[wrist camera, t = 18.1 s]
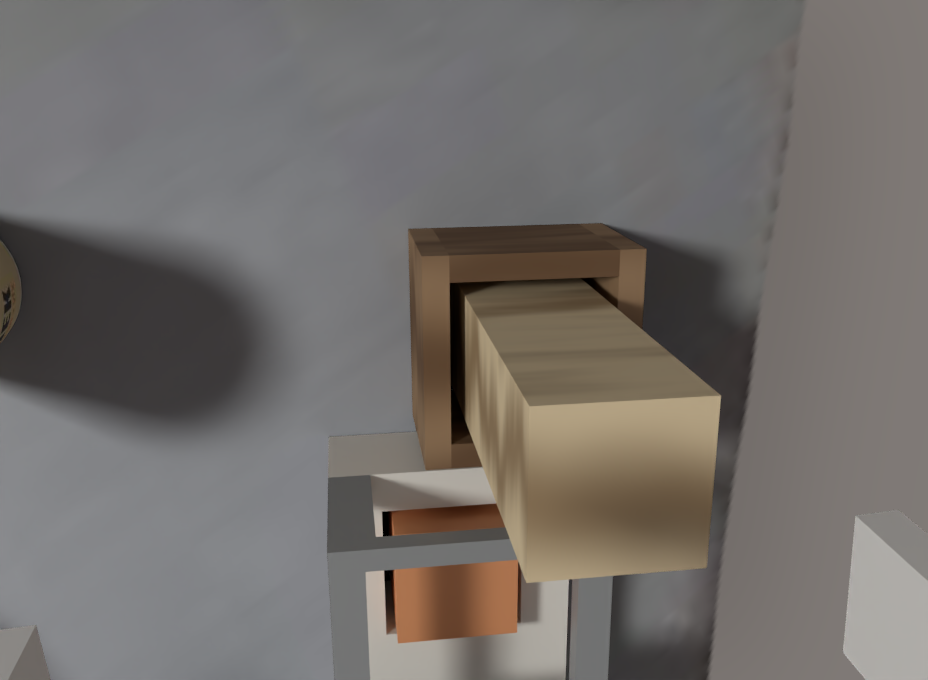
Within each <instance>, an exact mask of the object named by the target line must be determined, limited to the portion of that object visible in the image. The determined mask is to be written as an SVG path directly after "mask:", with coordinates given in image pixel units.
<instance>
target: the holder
mask: <svg viewBox="0 0 928 680" xmlns="http://www.w3.org/2000/svg"><path fill="white" fill-rule="evenodd" d="M408 236H409V278H410V319H411V361H412V402H413V418H414V422H415V426H416V431H417V435H418V439H419V444H420V448H421V452H422V457H423V461H424V465H425V470H438V469H453V468H468V467H483V466H482V464H481V461H480V458H479V456H478V453H477V450H476V448H475V445H474V442H473V440H472V437H471V434H470V432H469V429H468V426H467V424H466V421H465V418H464V416H463V413H462V410H461V408H460V405H459V402H458V400H457V397H456V394H455V392H454V391H451V374H450V283H457V282H484V281H511V280H537V279H564V278H581V279H582V280H583V281H585V282H586V283H587V284H588V285H589V286H591V287H592V288H593V289H594V290H595V291H597V292H598V293H599V294H600V295H601V296H603V297H604V298H605V299H606V300H607V301H609V302H610V303H611V304H612V305H613V306H615V307H616V308H617V309H618V310H619V311H621V312H622V313H623V314H624V315H625V316H626V317H628V318H629V319H630V320H631V321H632V322H634V323H635V324H636V325H637V326H638V327H640V328H641V329H642V324H643V306H644V288H645V270H646V252H647V249H646V248H644V247H642V246H641V245H639V244H637V243H635V242H634V241H632V240H630V239H628V238H626V237H625V236H623V235H621V234H619V233H618V232H616V231H614V230H612V229H611V228H609V227H607V226H605V225H603V224H602V223H595V224H561V225H527V226H492V227H458V228H424V229H408Z"/></svg>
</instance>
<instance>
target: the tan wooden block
mask: <svg viewBox="0 0 928 680" xmlns="http://www.w3.org/2000/svg"><path fill="white" fill-rule="evenodd" d="M450 374H451V384H452V386H453V389H454V392H455V394H456V397H457V400H458V402H459V405H460V408H461V410H462V413H463V416H464V418H465V421H466V424H467V426H468V429H469V432H470V434H471V437H472V440H473V442H474V445H475V448H476V450H477V453H478V456H479V458H480V461H481V464H482V466H483V469H484V472H485V474H486V477H487V480H488V482H489V485H490V488H491V490H492V493H493V495H494V498H495V501H496V503H497V506H498V509H499V511H500V514H501V517H502V519H503V522H504V525H505V527H506V530H507V533H508V535H509V538H510V541H511V543H512V546H513V549H514V551H515V554H516V557H517V559H518V562H519V565H520V567H521V570H522V573H523V575H524V578H525V581H526V583H533V582H545V581H557V580H569V579H581V578H593V577H605V576H617V575H629V574H641V573H653V572H665V571H677V570H689V569H701V568H707V558H708V546H709V534H710V522H711V510H712V498H713V486H714V474H715V462H716V450H717V439H718V427H719V415H720V403H721V395H720V394H719V393H717V392H716V391H715V390H714V389H713V388H711V387H710V386H709V385H708V384H707V383H705V382H704V381H703V380H702V379H701V378H699V377H698V376H697V375H696V374H695V373H694V372H692V371H691V370H690V369H689V368H688V367H686V366H685V365H684V364H683V363H682V362H680V361H679V360H678V359H677V358H676V357H674V356H673V355H672V354H671V353H670V352H668V351H667V350H666V349H665V348H664V347H662V346H661V345H660V344H659V343H658V342H656V341H655V340H654V339H653V338H652V337H650V336H649V335H648V334H647V333H646V332H644V331H643V330H642V329H641V328H640V327H638V326H637V325H636V324H635V323H634V322H632V321H631V320H630V319H629V318H628V317H626V316H625V315H624V314H623V313H622V312H621V311H619V310H618V309H617V308H616V307H615V306H613V305H612V304H611V303H610V302H609V301H607V300H606V299H605V298H604V297H603V296H601V295H600V294H599V293H598V292H597V291H595V290H594V289H593V288H592V287H591V286H589V285H588V284H587V283H586V282H585V281H583V280H582V279H581V278H564V279H537V280H511V281H484V282H457V283H450Z"/></svg>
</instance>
